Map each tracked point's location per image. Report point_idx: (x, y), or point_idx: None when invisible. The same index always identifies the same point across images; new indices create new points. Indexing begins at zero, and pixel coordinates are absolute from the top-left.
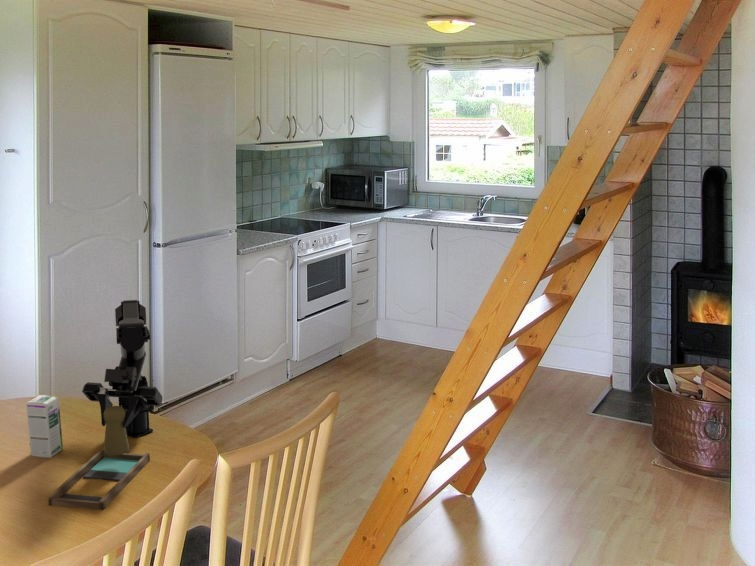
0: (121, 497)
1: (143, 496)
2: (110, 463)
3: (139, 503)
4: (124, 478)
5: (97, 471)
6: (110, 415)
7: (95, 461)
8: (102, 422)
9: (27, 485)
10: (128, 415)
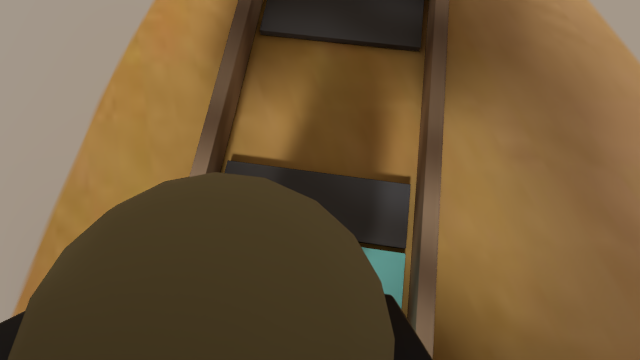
0: (217, 47)
1: (143, 57)
2: None
3: (151, 14)
4: (210, 106)
5: (367, 237)
6: (238, 175)
7: None
8: (388, 302)
9: (600, 117)
10: (11, 328)
